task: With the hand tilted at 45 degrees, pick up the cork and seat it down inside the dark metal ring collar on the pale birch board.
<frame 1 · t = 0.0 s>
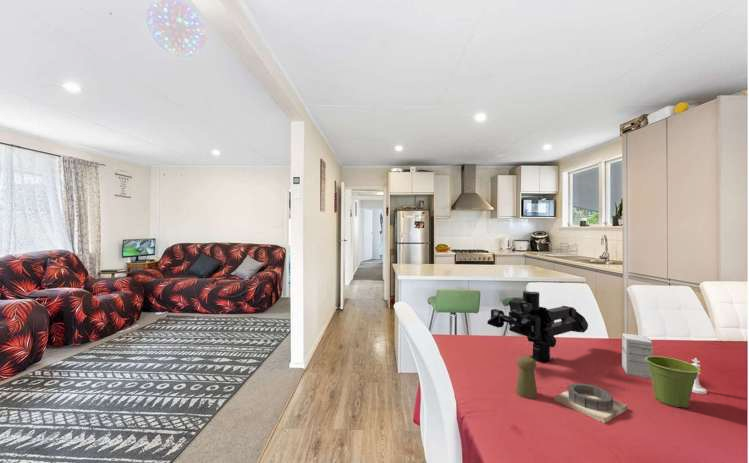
hand: (498, 325, 112), 17 cm above the table, tool horizontal, fingers open, 9 cm apart
plant pot: (671, 402, 94), on the table
collar board: (589, 404, 91), on the table
supplement box: (636, 373, 113), on the table
cork: (526, 394, 98), on the table
chess piece: (695, 390, 101), on the table
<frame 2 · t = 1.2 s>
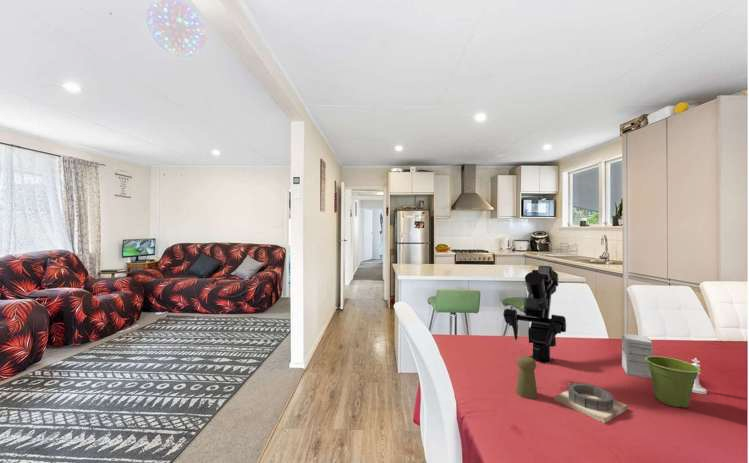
hand: (530, 342, 104), 14 cm above the table, tool tilted 45°, fingers open, 9 cm apart
nothing on the table moved.
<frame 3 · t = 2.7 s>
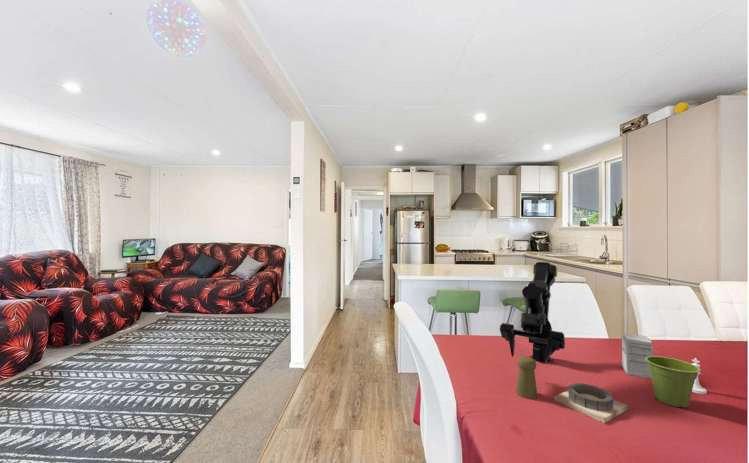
hand: (528, 359, 100), 10 cm above the table, tool tilted 45°, fingers open, 9 cm apart
nothing on the table moved.
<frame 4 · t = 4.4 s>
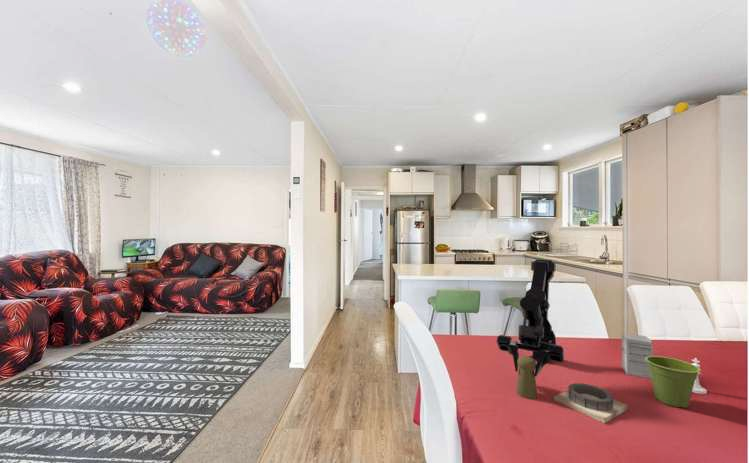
hand: (525, 373, 97), 7 cm above the table, tool tilted 45°, fingers closed on cork, 5 cm apart
cork: (526, 394, 98), on the table, touching gripper
everything else where it was.
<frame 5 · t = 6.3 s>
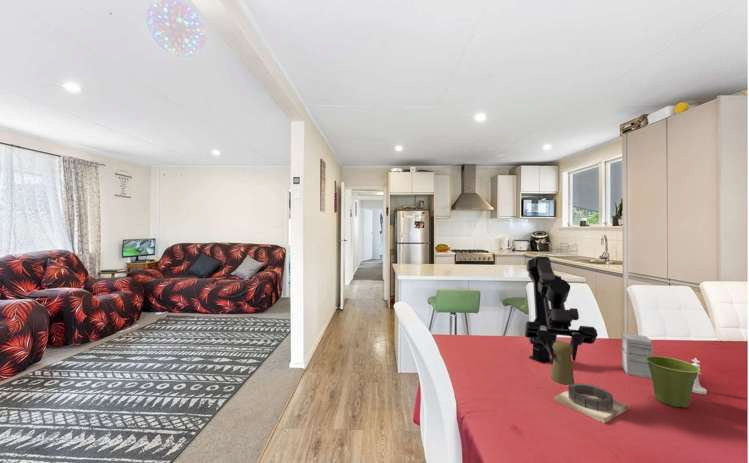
hand: (563, 359, 92), 13 cm above the table, tool tilted 45°, fingers closed on cork, 5 cm apart
cork: (562, 380, 93), point 6 cm above the table, touching gripper
everything else where it was.
when the fingers open (9 cm above the table, at t = 8.4 s): cork drops 1 cm, resting on collar board.
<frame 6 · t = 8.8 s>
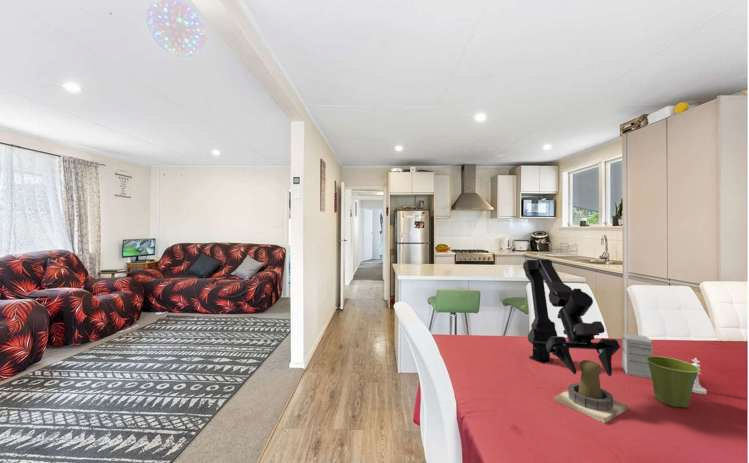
hand: (592, 374, 90), 9 cm above the table, tool tilted 45°, fingers open, 9 cm apart
cork: (589, 401, 92), point 1 cm above the table, touching collar board
everything else where it was.
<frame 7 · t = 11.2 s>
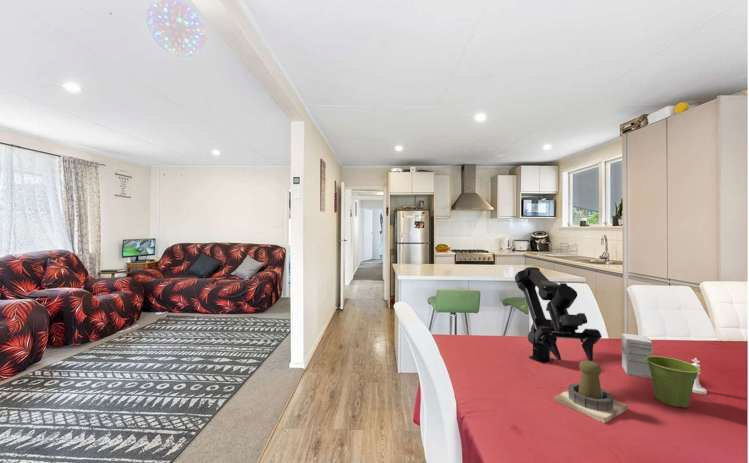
hand: (575, 361, 99), 9 cm above the table, tool tilted 45°, fingers open, 9 cm apart
nothing on the table moved.
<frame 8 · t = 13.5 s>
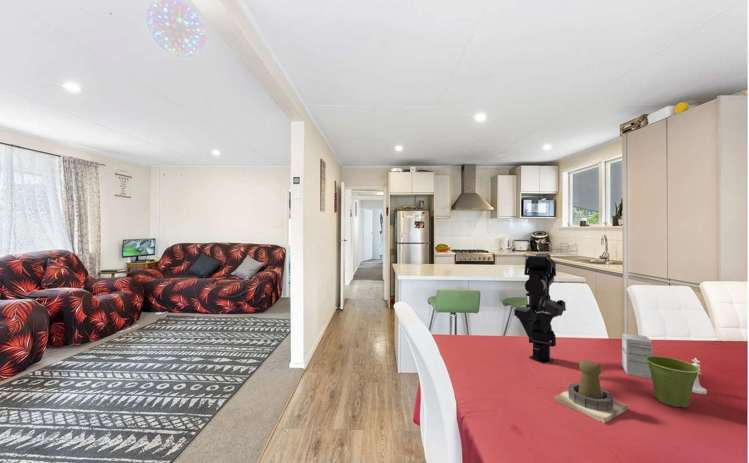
hand: (537, 334, 114), 13 cm above the table, tool pointing down, fingers open, 9 cm apart
nothing on the table moved.
at the end: cork 0.1 cm off-centre on the collar board, point 1.0 cm above the collar board's base; cork tilted 0°; the gripper is holding nothing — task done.
